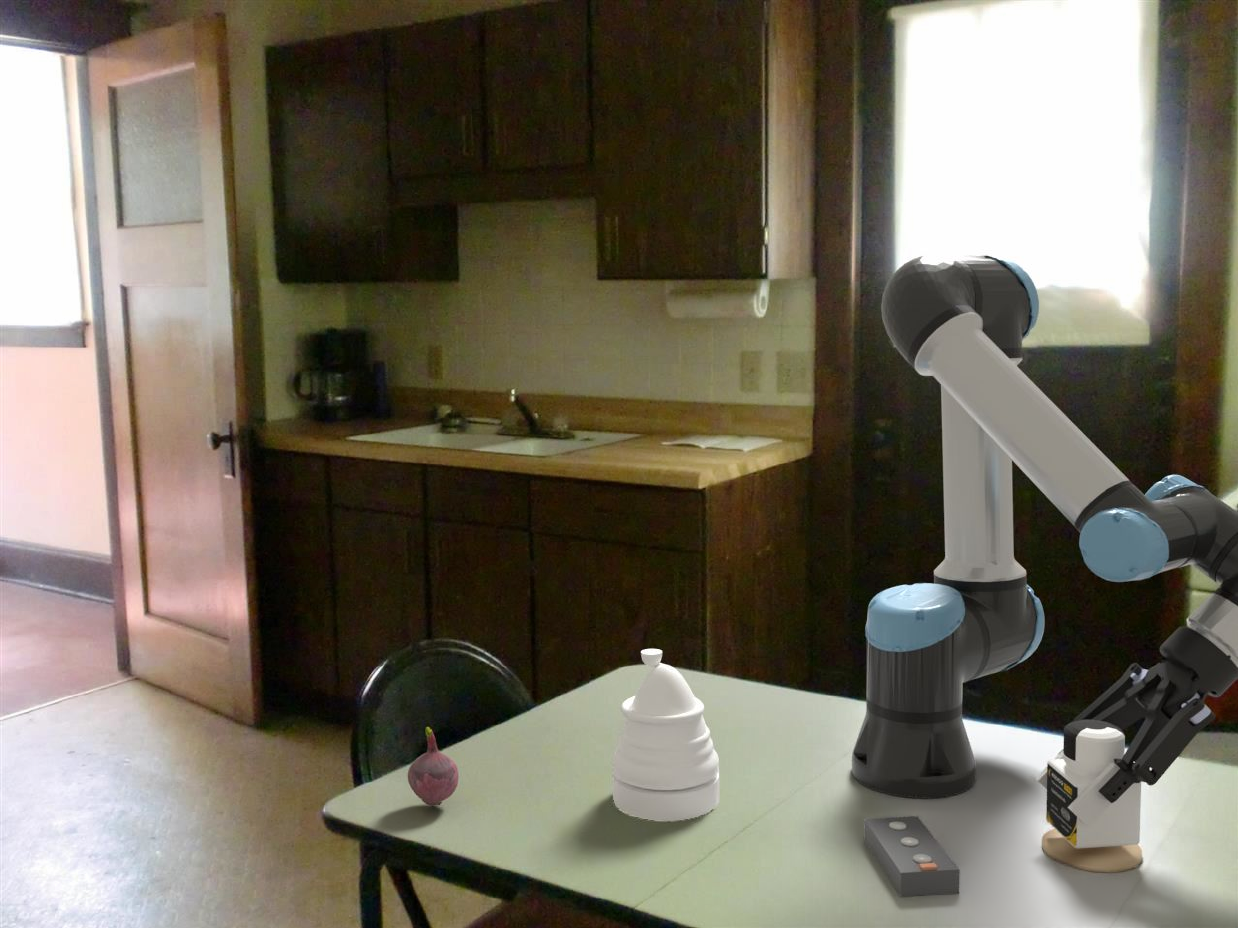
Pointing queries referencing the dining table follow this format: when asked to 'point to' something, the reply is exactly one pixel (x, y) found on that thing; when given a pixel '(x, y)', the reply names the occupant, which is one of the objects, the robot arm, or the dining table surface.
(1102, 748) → the medicine bottle
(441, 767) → the vegetable
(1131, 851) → the coaster
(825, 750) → the dining table surface
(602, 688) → the dining table surface
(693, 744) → the honey pot
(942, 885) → the power strip
